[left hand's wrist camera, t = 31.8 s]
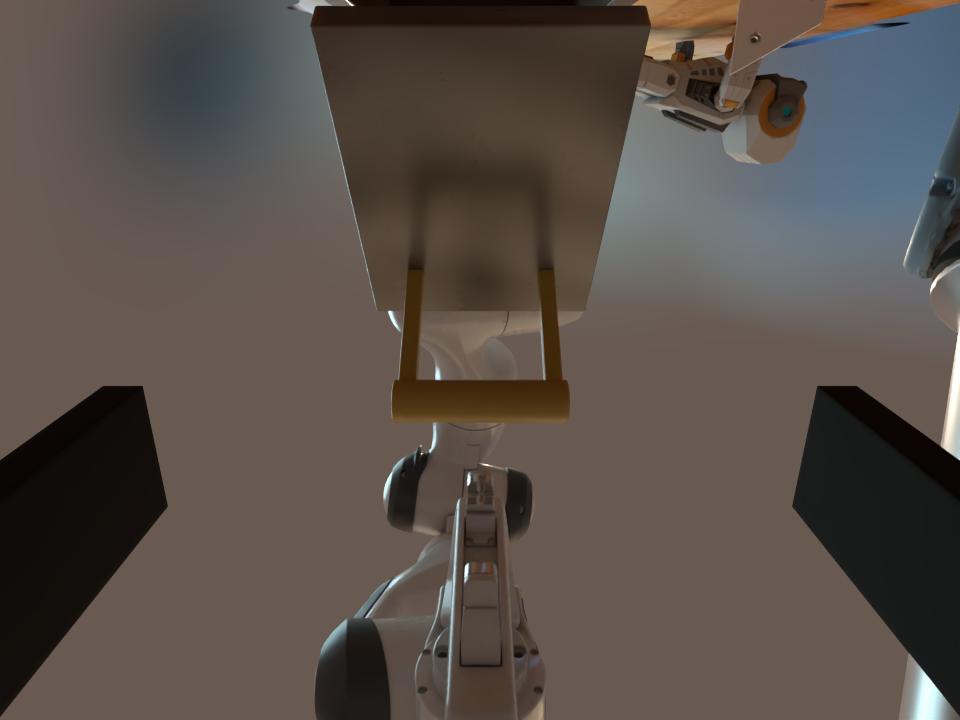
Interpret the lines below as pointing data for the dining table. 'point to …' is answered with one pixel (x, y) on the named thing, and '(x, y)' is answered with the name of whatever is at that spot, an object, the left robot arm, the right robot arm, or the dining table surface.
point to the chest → (481, 2)
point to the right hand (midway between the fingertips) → (480, 517)
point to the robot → (727, 102)
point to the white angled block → (771, 26)
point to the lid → (480, 171)
